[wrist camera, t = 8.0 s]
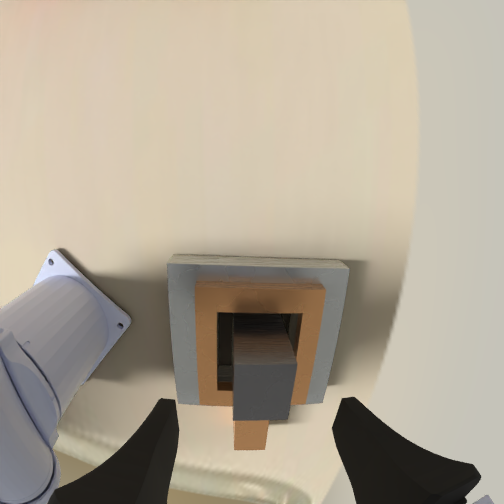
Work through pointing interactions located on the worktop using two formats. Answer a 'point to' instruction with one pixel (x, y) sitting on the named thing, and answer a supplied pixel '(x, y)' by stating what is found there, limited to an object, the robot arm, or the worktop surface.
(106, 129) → the worktop surface
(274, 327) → the dark grey rectangular block
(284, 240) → the worktop surface
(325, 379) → the grey and brown socket
